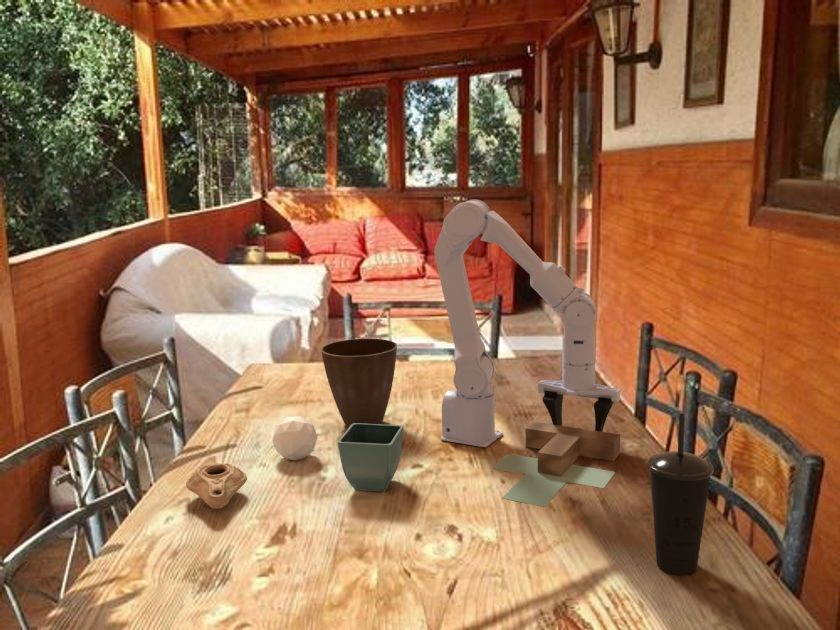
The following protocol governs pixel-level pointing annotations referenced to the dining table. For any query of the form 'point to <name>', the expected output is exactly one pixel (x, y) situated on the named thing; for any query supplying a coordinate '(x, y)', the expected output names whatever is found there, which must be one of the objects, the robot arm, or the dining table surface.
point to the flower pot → (370, 455)
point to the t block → (569, 446)
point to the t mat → (546, 479)
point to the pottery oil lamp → (216, 483)
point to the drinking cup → (679, 506)
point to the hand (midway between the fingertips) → (578, 434)
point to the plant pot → (360, 377)
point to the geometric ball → (294, 438)
